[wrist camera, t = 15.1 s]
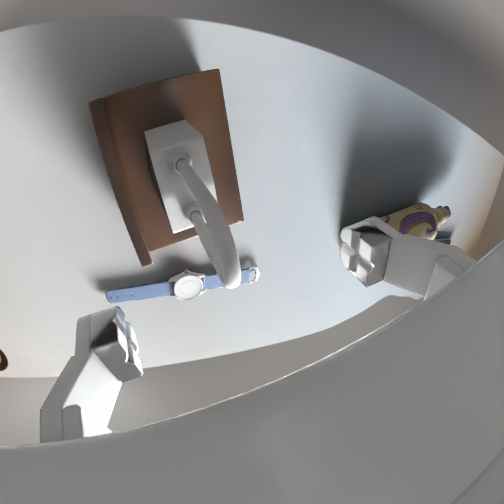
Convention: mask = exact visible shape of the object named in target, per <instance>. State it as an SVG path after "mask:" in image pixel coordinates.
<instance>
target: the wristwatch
mask: <svg viewBox="0 0 504 504" xmlns="http://www.w3.org/2000/svg"><path fill="white" fill-rule="evenodd" d="M254 268H256V269H255V279H254V281H249V277H250V269H254ZM259 275H260V271H259V269H258V267H257V266H255V267H249V268H248V269H241V281H240V284H242V283H252V282H256V281H257V279H258V277H259ZM201 278H202V280H201ZM173 282H174V283H173ZM219 287H226V286H225V285H224V284H223V283H222V281H221V280H220V278H219V276H218V274H217V273H216V274H209V275H205V274H204V273H195V272H192V271H189V270H188V269H187V270H184V272H182V273H180V274H178V275H176V276H174V277H171V278H169V281H163V282H157V283H150V284H144V285H137V286H131V287H124V288H118V289H111V290H108V291H107V292H106V298H107V300H108V301H109V302H110V303H118V302H125V301H133V300H140V299H148V298H155V297H162V296H169V295H171V297H173V298H177V299H183V300H191V299H194V298H196V297H197V296H198V295H200V294H202V293H204V292H206V290H207V289H213V288H219ZM131 293H132V294H131ZM124 294H125V295H124ZM117 295H118V296H117ZM110 296H111V297H110Z"/></svg>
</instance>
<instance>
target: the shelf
mask: <svg viewBox="0 0 504 504" xmlns="http://www.w3.org/2000/svg"><path fill="white" fill-rule="evenodd" d="M88 105H89V109H90V113H91V117H92V121H93V125H94V128H95V132H96V136H97V139H98V143H99V146H100V150H101V153H102V157H103V160H104V163H105V166H106V170H107V173H108V176H109V179H110V182H111V185H112V188H113V191H114V194H115V197H116V200H117V203H118V205H119V208H120V211H121V214H122V217H123V219H124V222H125V225H126V227H127V230H128V232H129V235H130V238H131V240H132V243H133V245H134V248H135V250H136V253H137V255H138V257H139V260H140V262H141V265H142V266H146V265H149V264H152V263H153V260H152V254H151V251H154V250H157V249H159V248H162V247H165V246H168V245H171V244H174V243H177V242H180V241H183V240H186V239H189V238H192V237H195V236H198V233H197V231H196V229H195V227H191V228H188V229H185V230H182V231H179V232H176V233H173V231H172V228H171V226H170V224H169V221H168V219H167V216H166V214H165V211H164V209H163V206H162V204H161V201H160V199H159V196H158V194H157V191H156V188H155V186H154V185H153V182H152V180H151V177H150V174H149V167H148V159H147V151H146V142H145V133H144V131H147V130H151V129H154V128H157V127H160V126H164V125H167V124H171V123H174V122H178V121H182V120H186V121H187V122H188V123H189V124H191V125H192V126H193V127H194V128H195V129H196V130H197V131H198V132H199V133H200V134H201V135H202V136H203V138H204V143H205V147H206V151H207V155H208V160H209V164H210V168H211V172H212V176H213V181H214V186H215V191H216V197H217V202H218V205H219V206H220V208H221V210H222V212H223V214H224V216H225V218H226V220H227V223H228V225H233V224H236V223H239V222H242V221H244V217H243V211H242V205H241V199H240V193H239V187H238V181H237V175H236V169H235V163H234V157H233V151H232V145H231V139H230V133H229V127H228V121H227V114H226V108H225V102H224V96H223V90H222V84H221V78H220V72H219V69H213V70H208V71H202V72H197V73H192V74H187V75H182V76H178V77H173V78H169V79H165V80H161V81H157V82H153V83H150V84H146V85H142V86H139V87H135V88H132V89H129V90H126V91H122V92H119V93H116V94H113V95H110V96H107V97H104V98H100V99H97V100H94V101H92V102H89V103H88ZM206 224H207V222H206ZM207 226H208V224H207ZM208 228H209V227H208Z"/></svg>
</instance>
